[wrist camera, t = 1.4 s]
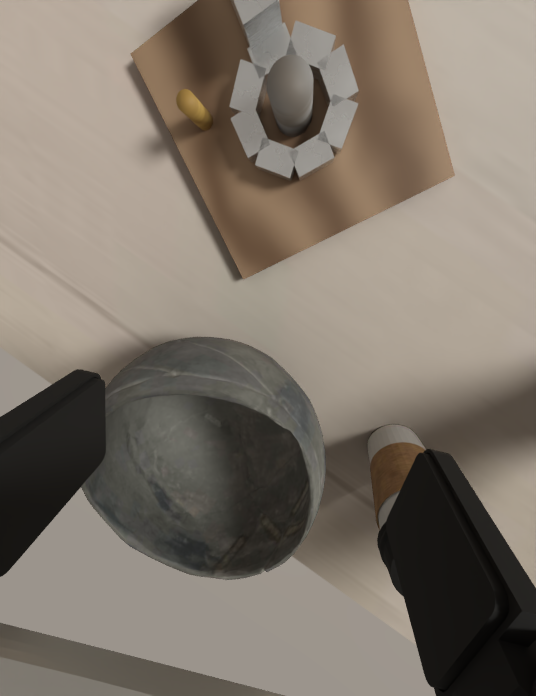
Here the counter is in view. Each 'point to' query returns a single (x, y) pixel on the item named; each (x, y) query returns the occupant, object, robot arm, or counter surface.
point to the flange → (251, 86)
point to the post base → (367, 151)
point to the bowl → (209, 459)
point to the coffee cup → (390, 479)
